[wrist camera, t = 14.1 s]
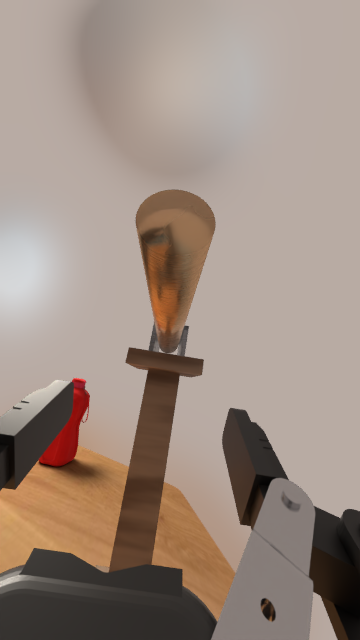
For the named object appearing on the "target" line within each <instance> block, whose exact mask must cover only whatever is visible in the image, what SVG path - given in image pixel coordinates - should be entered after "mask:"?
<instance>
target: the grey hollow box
mask: <svg viewBox="0 0 360 640" xmlns="http://www.w3.org/2000/svg"><path fill="white" fill-rule="evenodd" d="M188 328H189V326H184V328H183V331H182V335H181V338H180V341H179V344H178V345H179V347H178V353H177V355H179V356H184V355H185V349H186V342H187V334H188ZM149 351H154V352H159V342H158V337H157V332H156V327H155V321H154V326H153V331H152V336H151V341H150V346H149Z"/></svg>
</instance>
